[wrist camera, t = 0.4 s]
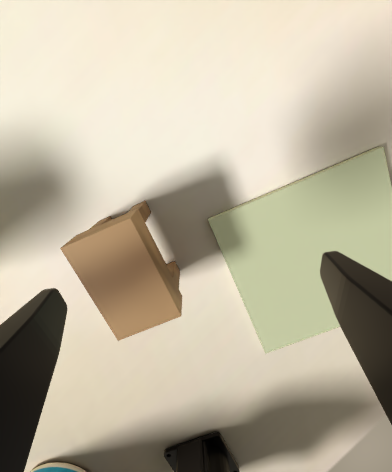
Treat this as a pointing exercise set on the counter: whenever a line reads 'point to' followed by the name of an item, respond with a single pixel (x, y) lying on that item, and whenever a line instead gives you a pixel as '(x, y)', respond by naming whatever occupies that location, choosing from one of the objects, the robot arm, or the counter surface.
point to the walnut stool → (126, 273)
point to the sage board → (306, 244)
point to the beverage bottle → (57, 468)
